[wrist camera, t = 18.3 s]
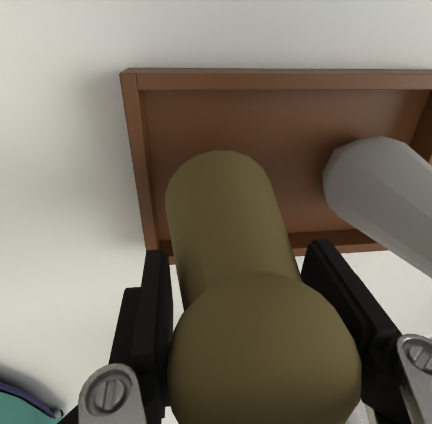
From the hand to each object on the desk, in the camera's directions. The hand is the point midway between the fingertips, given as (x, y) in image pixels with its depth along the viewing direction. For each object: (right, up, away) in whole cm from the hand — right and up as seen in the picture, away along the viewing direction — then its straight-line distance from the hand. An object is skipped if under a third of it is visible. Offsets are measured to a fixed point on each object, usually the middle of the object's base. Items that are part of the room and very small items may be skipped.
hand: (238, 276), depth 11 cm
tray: (+4, +6, +10) cm, 12 cm away
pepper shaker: (-1, +3, +5) cm, 6 cm away
